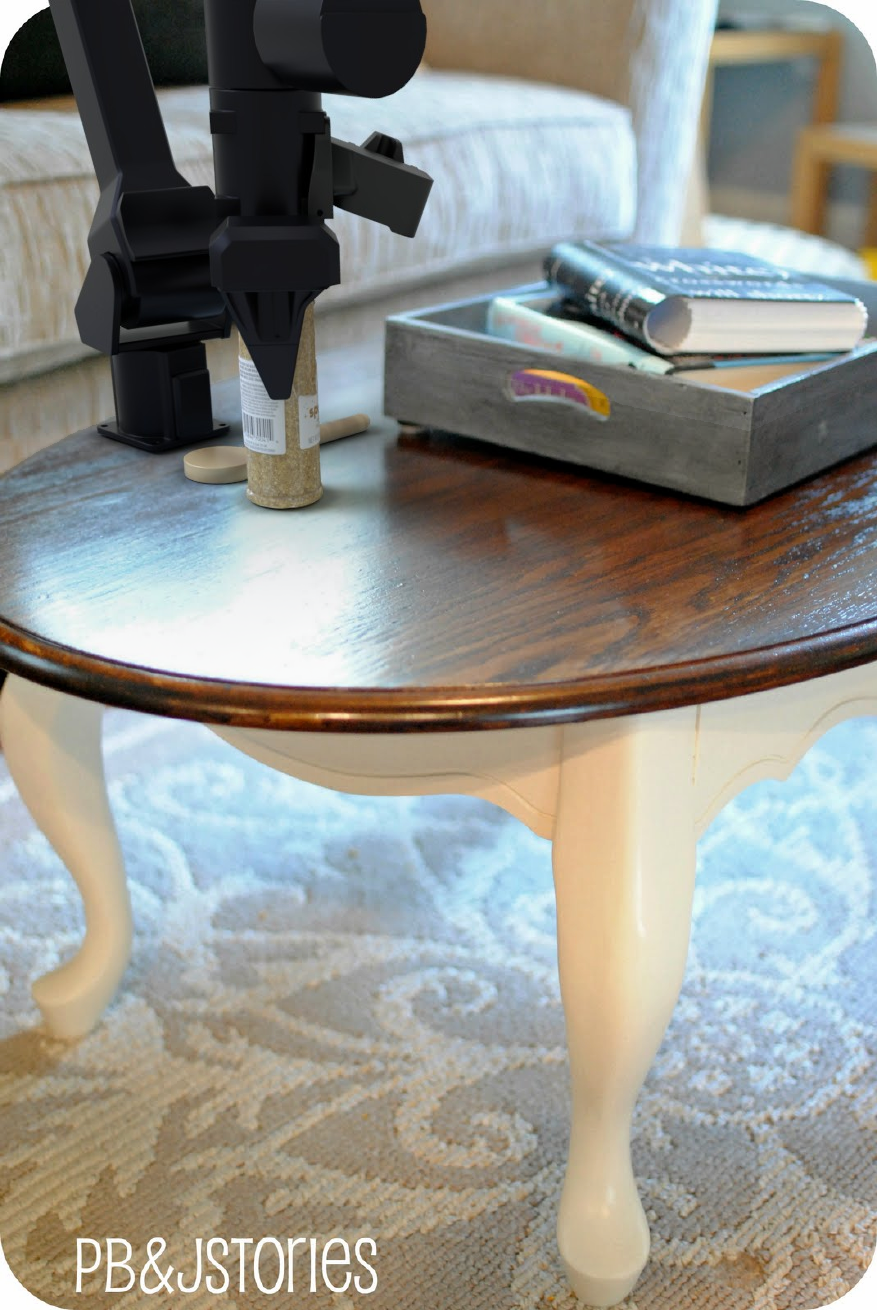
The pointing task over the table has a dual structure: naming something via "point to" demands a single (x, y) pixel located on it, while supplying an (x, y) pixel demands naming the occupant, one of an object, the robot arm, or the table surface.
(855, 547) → the table surface
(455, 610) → the table surface
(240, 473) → the wooden spoon
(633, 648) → the table surface
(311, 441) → the sprinkles bottle
